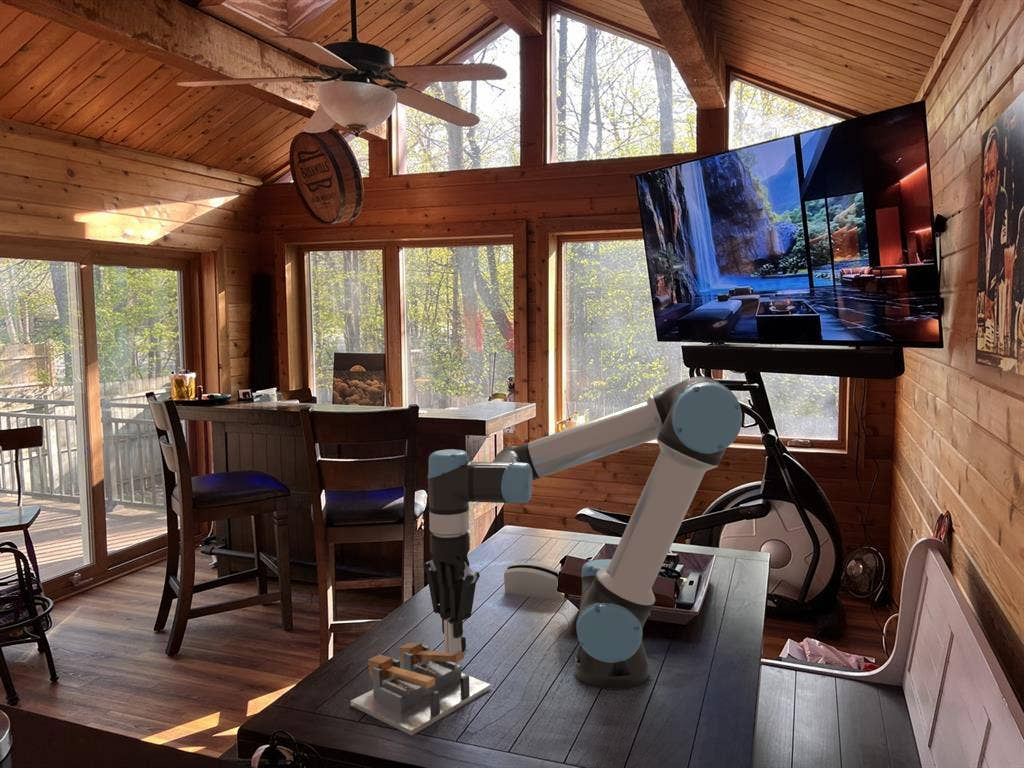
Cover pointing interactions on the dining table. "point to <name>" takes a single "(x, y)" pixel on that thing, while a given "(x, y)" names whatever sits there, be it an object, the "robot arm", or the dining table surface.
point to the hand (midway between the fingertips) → (453, 651)
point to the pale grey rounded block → (532, 581)
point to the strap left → (399, 672)
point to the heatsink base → (421, 710)
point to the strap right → (427, 654)
